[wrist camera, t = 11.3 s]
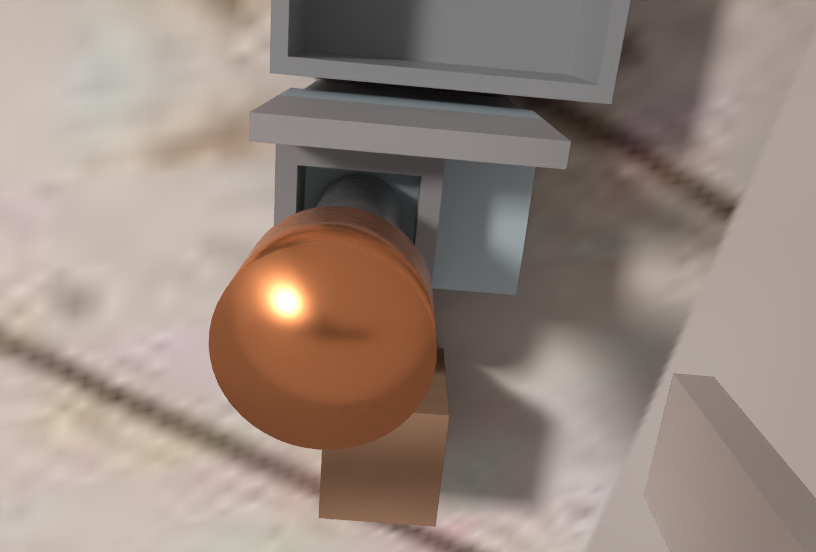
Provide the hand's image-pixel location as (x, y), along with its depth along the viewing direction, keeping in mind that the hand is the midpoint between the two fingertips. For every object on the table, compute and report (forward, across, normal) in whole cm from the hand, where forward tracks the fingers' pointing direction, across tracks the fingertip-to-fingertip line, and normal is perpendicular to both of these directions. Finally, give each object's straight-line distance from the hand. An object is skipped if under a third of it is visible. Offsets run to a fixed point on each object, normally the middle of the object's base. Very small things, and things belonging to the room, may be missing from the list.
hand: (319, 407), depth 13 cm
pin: (+13, 0, 0) cm, 13 cm away
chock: (+19, +1, -10) cm, 22 cm away
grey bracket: (+19, +1, -1) cm, 19 cm away
